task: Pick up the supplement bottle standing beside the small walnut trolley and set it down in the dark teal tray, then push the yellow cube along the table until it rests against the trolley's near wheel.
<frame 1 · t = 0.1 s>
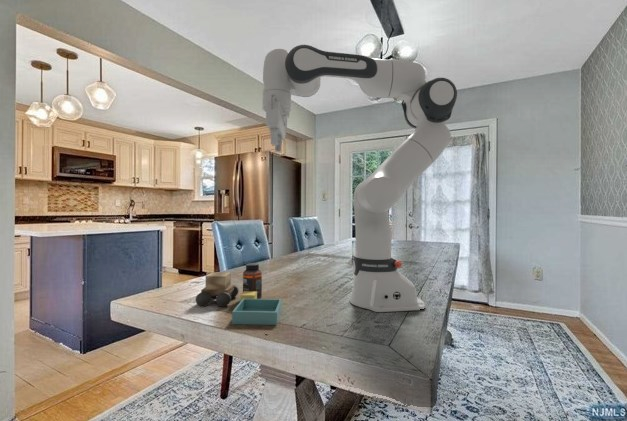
hand: (276, 148, 95), 48 cm above the table, tool pointing down, fingers open, 8 cm apart
yellow cube: (248, 306, 90), on the table
trolley: (218, 301, 94), on the table
supplement bottle: (252, 300, 97), on the table
tray: (258, 316, 81), on the table
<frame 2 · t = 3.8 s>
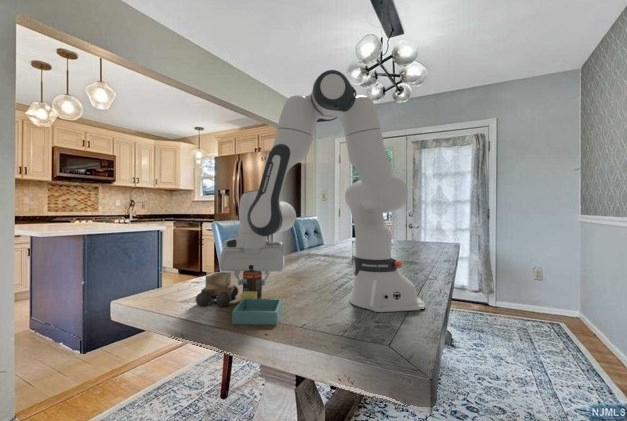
hand: (252, 284, 97), 5 cm above the table, tool pointing down, fingers closed on supplement bottle, 6 cm apart
supplement bottle: (252, 300, 97), on the table, touching gripper
everything else where it was.
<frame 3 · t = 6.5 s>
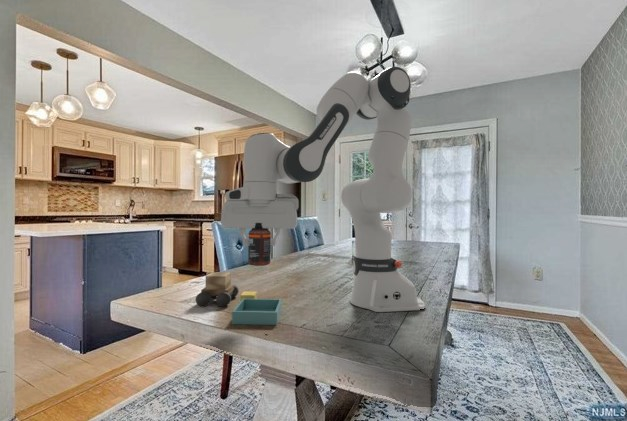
hand: (259, 245, 82), 19 cm above the table, tool pointing down, fingers closed on supplement bottle, 6 cm apart
supplement bottle: (259, 265, 82), point 14 cm above the table, touching gripper
everything else where it was.
when the fingers open (7 cm above the table, at t = 9.4 s): supplement bottle stays where it is, resting on tray.
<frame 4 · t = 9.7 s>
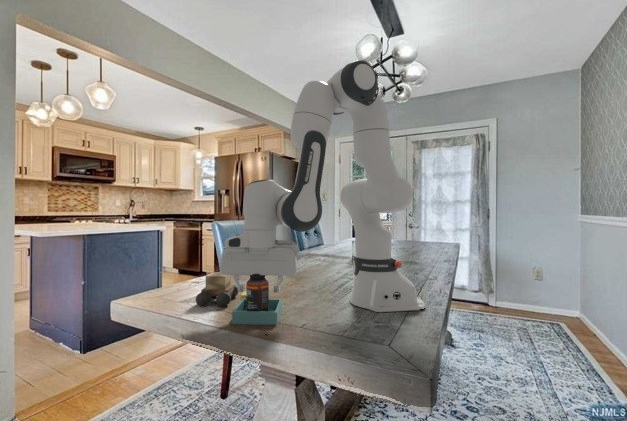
hand: (259, 291, 81), 7 cm above the table, tool pointing down, fingers open, 8 cm apart
supplement bottle: (257, 315, 81), resting on tray
everything else where it was.
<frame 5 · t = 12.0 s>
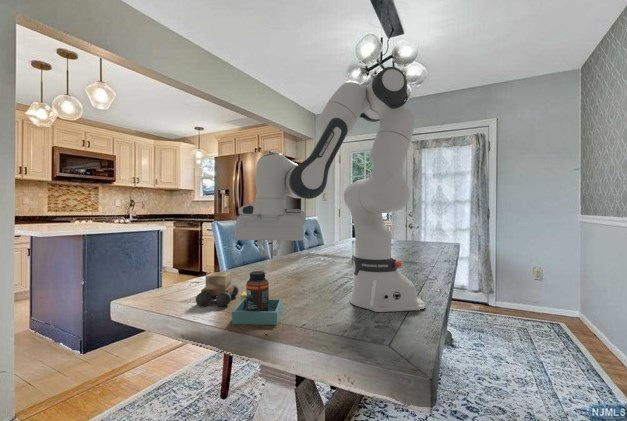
hand: (269, 255, 90), 15 cm above the table, tool pointing down, fingers closed
nothing on the table moved.
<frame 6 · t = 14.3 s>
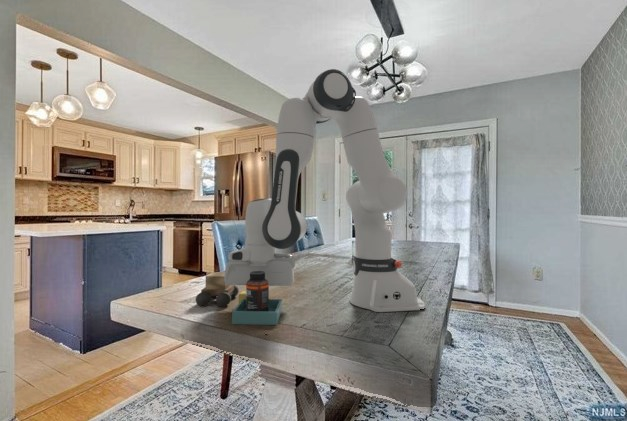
hand: (259, 300, 90), 2 cm above the table, tool pointing down, fingers closed
yellow cube: (247, 306, 90), on the table, touching gripper
everything else where it was.
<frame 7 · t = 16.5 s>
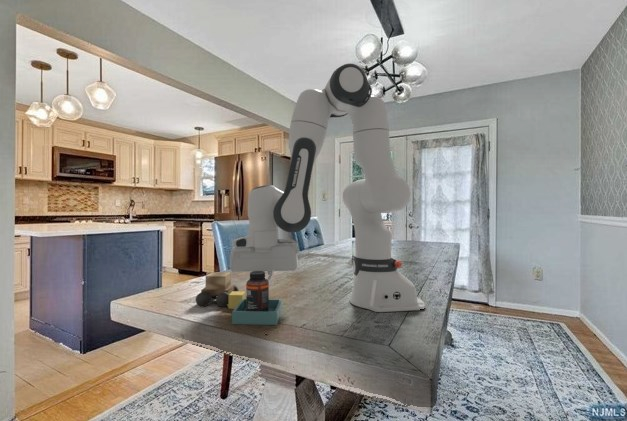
hand: (264, 285, 91), 6 cm above the table, tool pointing down, fingers closed
yellow cube: (237, 306, 90), on the table
everything else where it was.
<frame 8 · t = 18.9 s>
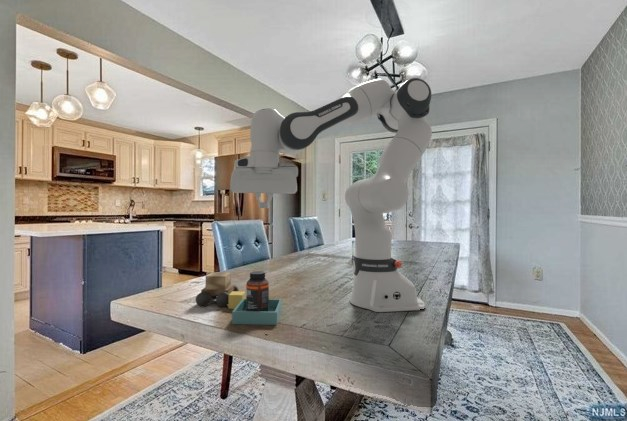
hand: (263, 208, 93), 29 cm above the table, tool pointing down, fingers closed
nothing on the table moved.
at the end: supplement bottle inside the target area on the tray (0.3 cm from its centre), point 0.4 cm above the tray's base; yellow cube 0.5 cm from the target spot, on the table; the gripper is holding nothing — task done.
